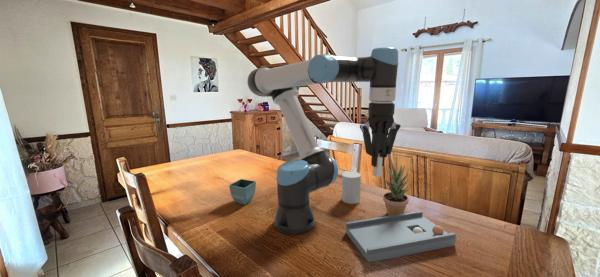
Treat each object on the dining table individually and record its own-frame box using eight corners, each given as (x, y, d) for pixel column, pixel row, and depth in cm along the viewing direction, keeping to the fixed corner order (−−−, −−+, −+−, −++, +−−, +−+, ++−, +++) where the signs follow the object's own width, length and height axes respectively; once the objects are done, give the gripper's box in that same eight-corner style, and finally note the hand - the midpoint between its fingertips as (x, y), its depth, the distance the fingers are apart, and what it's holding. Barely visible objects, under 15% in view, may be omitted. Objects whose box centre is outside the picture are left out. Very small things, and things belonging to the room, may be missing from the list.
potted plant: (379, 208, 106) (381, 150, 101) (402, 208, 106) (405, 150, 101) (386, 220, 96) (389, 157, 91) (412, 220, 96) (416, 157, 91)
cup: (360, 204, 110) (361, 178, 108) (341, 203, 112) (341, 177, 109) (360, 196, 118) (360, 171, 116) (342, 195, 120) (342, 171, 117)
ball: (425, 229, 84) (425, 237, 85) (418, 224, 87) (419, 232, 88) (416, 231, 83) (417, 240, 84) (410, 226, 86) (411, 235, 87)
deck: (368, 262, 74) (368, 250, 73) (345, 232, 89) (345, 222, 88) (454, 245, 80) (455, 234, 80) (420, 220, 96) (420, 210, 95)
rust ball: (436, 238, 80) (437, 229, 79) (429, 233, 83) (430, 224, 82) (445, 237, 81) (446, 228, 80) (437, 231, 84) (438, 222, 83)
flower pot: (257, 199, 118) (256, 181, 116) (246, 207, 110) (244, 188, 108) (242, 196, 121) (240, 178, 120) (230, 204, 114) (228, 185, 112)
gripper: (368, 103, 72) (363, 181, 77) (408, 102, 75) (401, 178, 80) (356, 101, 79) (353, 173, 84) (393, 100, 82) (388, 170, 87)
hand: (377, 175), depth 82 cm, fingers closed
